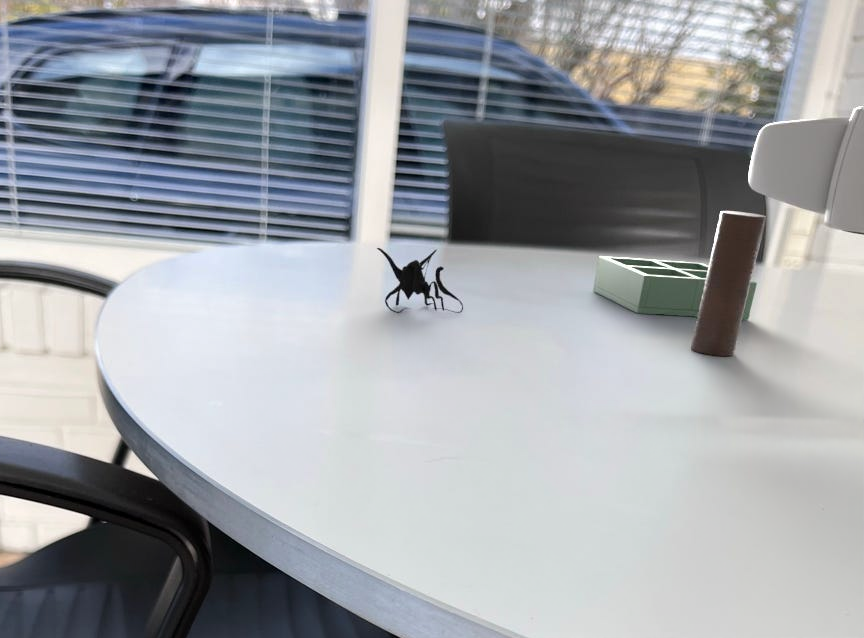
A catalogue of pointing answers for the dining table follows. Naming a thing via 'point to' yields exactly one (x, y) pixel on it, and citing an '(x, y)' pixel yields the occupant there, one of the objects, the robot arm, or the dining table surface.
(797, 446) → the dining table surface
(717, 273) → the brown cylinder
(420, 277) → the creature
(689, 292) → the grid
